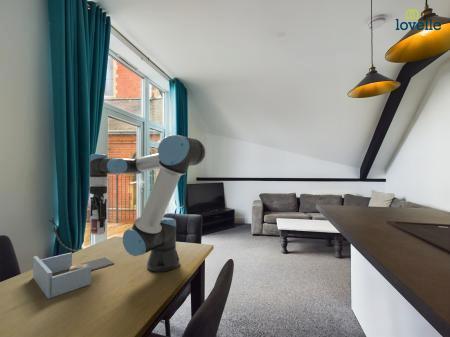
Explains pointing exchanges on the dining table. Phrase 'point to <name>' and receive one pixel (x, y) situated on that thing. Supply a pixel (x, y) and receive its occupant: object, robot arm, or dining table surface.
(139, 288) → the dining table surface
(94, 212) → the pill bottle
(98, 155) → the robot arm
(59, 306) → the dining table surface
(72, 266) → the offcut top
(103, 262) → the mat
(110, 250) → the dining table surface
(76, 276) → the open box
